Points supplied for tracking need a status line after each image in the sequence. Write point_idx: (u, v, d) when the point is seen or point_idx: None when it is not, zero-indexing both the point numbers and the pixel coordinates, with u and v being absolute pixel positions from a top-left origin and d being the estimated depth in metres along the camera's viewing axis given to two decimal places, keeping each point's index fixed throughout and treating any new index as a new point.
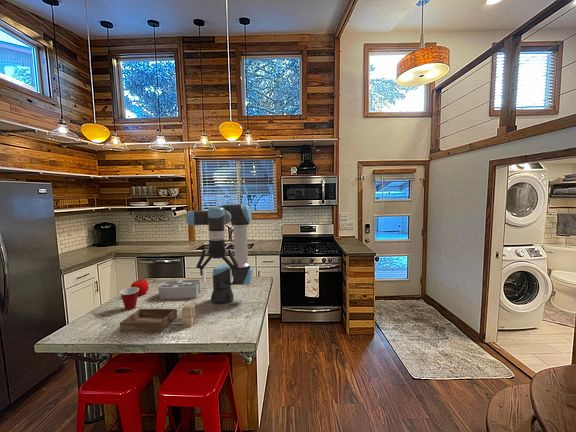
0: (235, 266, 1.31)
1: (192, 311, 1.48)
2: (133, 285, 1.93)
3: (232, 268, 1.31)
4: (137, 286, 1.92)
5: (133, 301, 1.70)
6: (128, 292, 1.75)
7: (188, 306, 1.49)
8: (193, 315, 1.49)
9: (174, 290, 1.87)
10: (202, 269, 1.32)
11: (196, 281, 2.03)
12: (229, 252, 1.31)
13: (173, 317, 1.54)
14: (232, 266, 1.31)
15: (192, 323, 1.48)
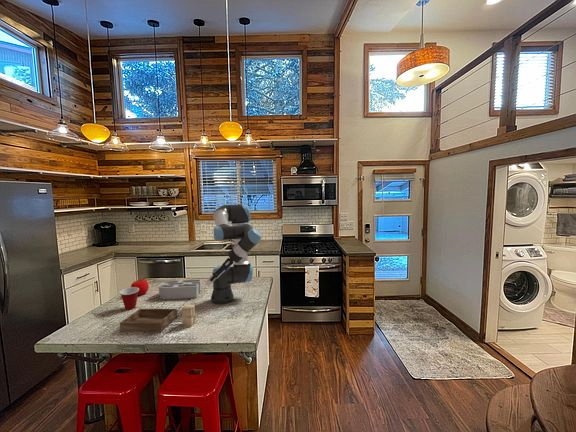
0: None
1: (192, 311, 1.48)
2: (133, 285, 1.93)
3: (226, 269, 1.54)
4: (137, 286, 1.92)
5: (133, 301, 1.70)
6: (128, 292, 1.75)
7: (188, 306, 1.49)
8: (193, 315, 1.49)
9: (174, 290, 1.87)
10: None
11: (196, 281, 2.03)
12: None
13: (173, 317, 1.54)
14: (227, 268, 1.53)
15: (192, 323, 1.48)
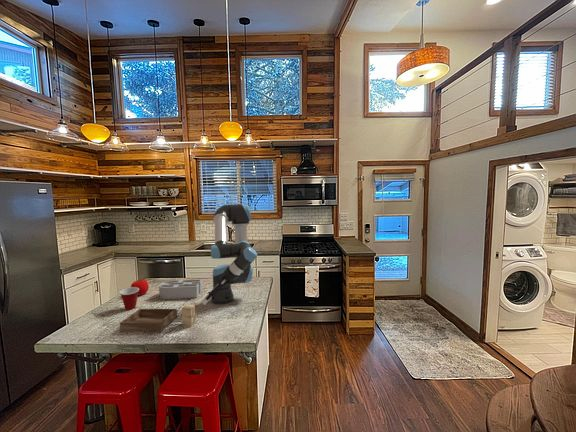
0: None
1: (192, 311, 1.48)
2: (133, 285, 1.93)
3: None
4: (137, 286, 1.92)
5: (133, 301, 1.70)
6: (128, 292, 1.75)
7: (188, 306, 1.49)
8: (193, 315, 1.49)
9: (174, 290, 1.87)
10: None
11: (197, 281, 2.03)
12: None
13: (173, 317, 1.54)
14: None
15: (192, 323, 1.48)
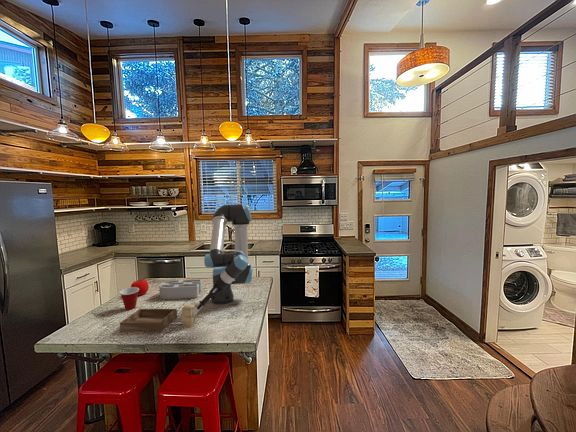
0: None
1: (192, 311, 1.48)
2: (133, 285, 1.93)
3: (214, 294, 1.54)
4: (137, 286, 1.92)
5: (133, 301, 1.70)
6: (128, 292, 1.75)
7: (188, 306, 1.49)
8: (193, 315, 1.49)
9: (175, 290, 1.87)
10: (203, 305, 1.39)
11: (197, 281, 2.04)
12: None
13: (173, 317, 1.54)
14: None
15: (192, 323, 1.48)
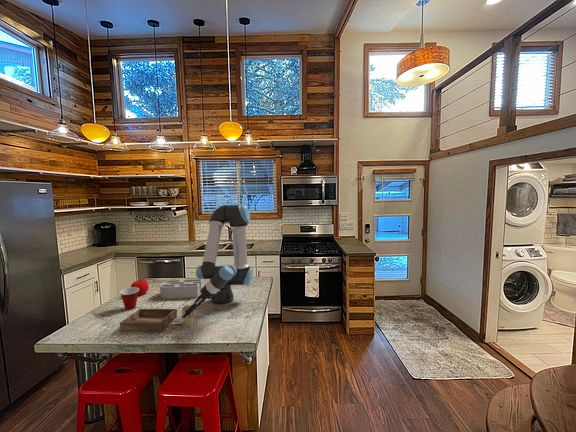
0: None
1: (192, 311, 1.48)
2: (133, 285, 1.93)
3: (195, 308, 1.52)
4: (137, 286, 1.92)
5: (133, 301, 1.70)
6: (128, 292, 1.75)
7: (188, 306, 1.49)
8: (193, 315, 1.49)
9: (175, 290, 1.88)
10: None
11: (197, 281, 2.04)
12: None
13: (173, 317, 1.54)
14: None
15: (192, 323, 1.48)
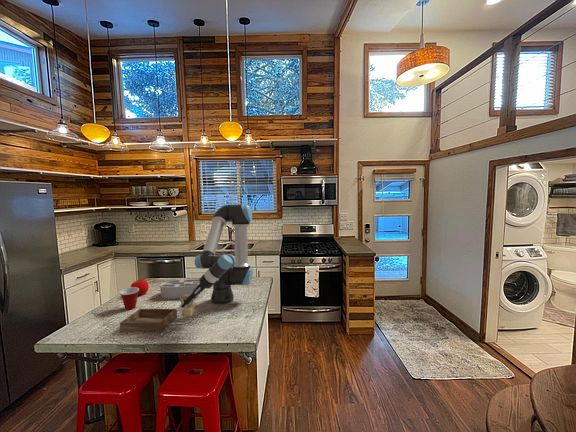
0: (196, 295, 1.52)
1: (191, 300, 1.47)
2: (133, 285, 1.93)
3: (194, 298, 1.51)
4: (137, 286, 1.92)
5: (133, 301, 1.70)
6: (128, 292, 1.75)
7: (187, 295, 1.48)
8: (192, 304, 1.48)
9: (176, 289, 1.88)
10: (187, 303, 1.44)
11: (198, 281, 2.04)
12: None
13: (173, 317, 1.54)
14: None
15: (191, 312, 1.47)
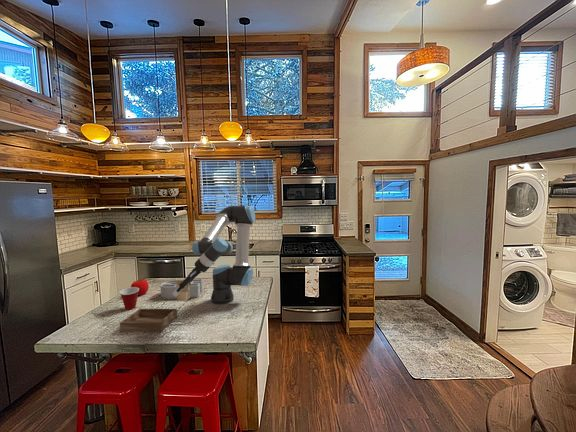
0: (191, 280, 1.52)
1: (186, 285, 1.46)
2: (133, 285, 1.93)
3: (189, 283, 1.50)
4: (137, 286, 1.92)
5: (133, 301, 1.70)
6: (128, 292, 1.75)
7: (182, 280, 1.47)
8: (187, 289, 1.47)
9: None
10: (183, 287, 1.43)
11: (198, 280, 2.04)
12: None
13: (173, 317, 1.54)
14: (190, 281, 1.51)
15: (187, 297, 1.46)
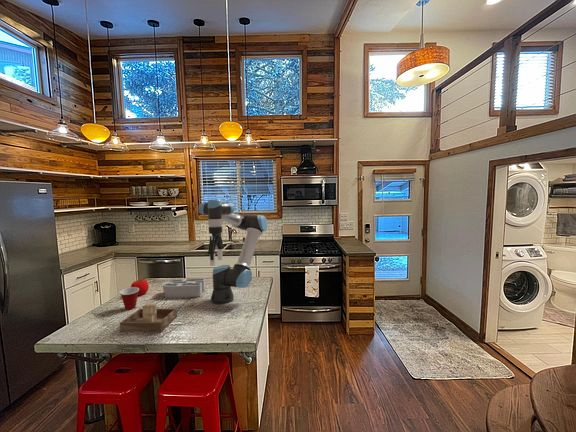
0: (222, 246, 1.66)
1: (153, 309, 1.49)
2: (133, 285, 1.93)
3: (222, 248, 1.64)
4: (137, 286, 1.92)
5: (133, 301, 1.70)
6: (128, 292, 1.75)
7: (149, 304, 1.50)
8: (154, 313, 1.50)
9: (178, 289, 1.89)
10: (213, 254, 1.50)
11: (200, 280, 2.06)
12: None
13: (173, 317, 1.54)
14: (222, 246, 1.64)
15: (153, 321, 1.49)
